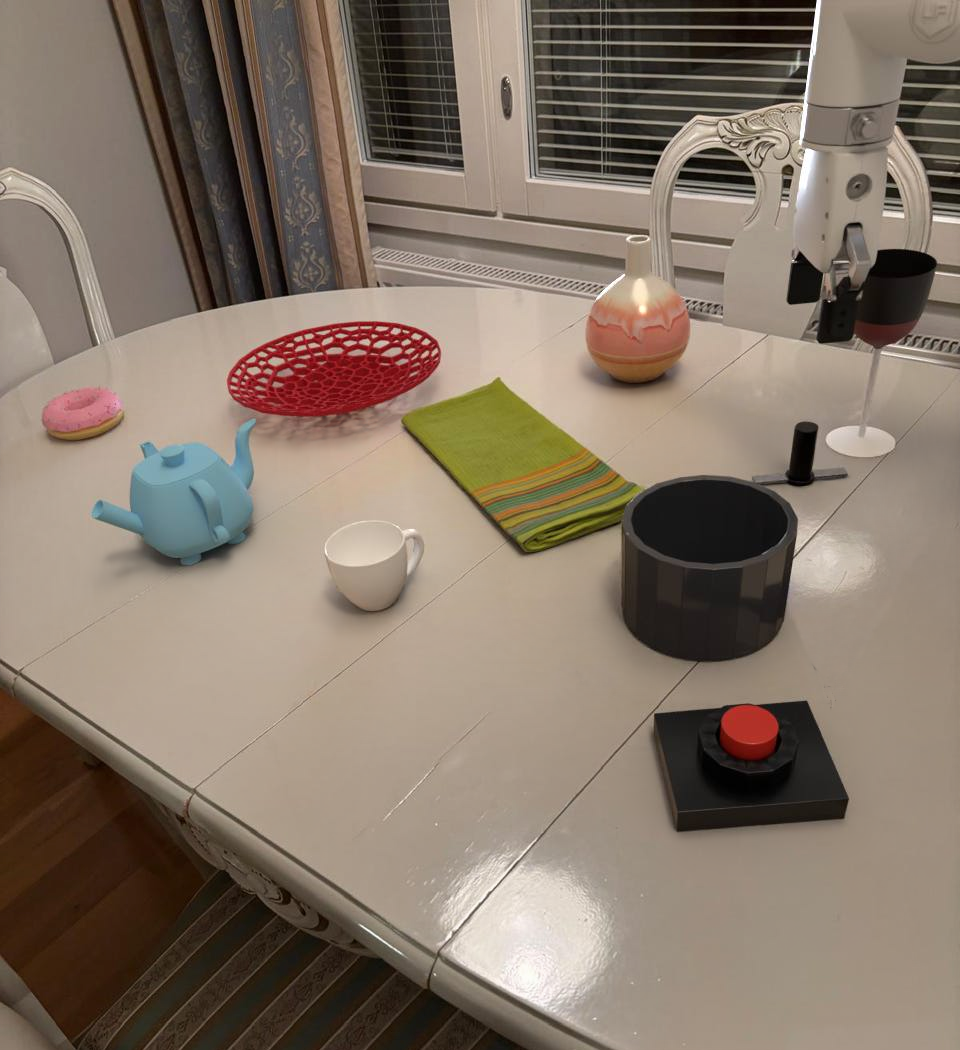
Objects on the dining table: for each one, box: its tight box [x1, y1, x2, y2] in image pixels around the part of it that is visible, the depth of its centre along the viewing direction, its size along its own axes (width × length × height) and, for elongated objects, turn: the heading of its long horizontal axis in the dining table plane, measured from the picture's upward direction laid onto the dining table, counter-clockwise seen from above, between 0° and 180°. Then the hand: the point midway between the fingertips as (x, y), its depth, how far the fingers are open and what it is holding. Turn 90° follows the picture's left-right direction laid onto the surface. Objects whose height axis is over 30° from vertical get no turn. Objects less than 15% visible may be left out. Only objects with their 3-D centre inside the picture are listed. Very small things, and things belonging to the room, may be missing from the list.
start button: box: [720, 705, 779, 760], centre depth 67 cm, size 4×4×2 cm
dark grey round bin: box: [620, 474, 799, 663], centre depth 82 cm, size 15×15×10 cm
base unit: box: [652, 700, 850, 832], centre depth 68 cm, size 12×10×4 cm
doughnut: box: [40, 386, 124, 441], centre depth 127 cm, size 11×11×4 cm
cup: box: [323, 519, 425, 612], centre depth 89 cm, size 8×10×7 cm
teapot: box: [91, 418, 257, 566], centre depth 99 cm, size 15×14×11 cm
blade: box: [751, 420, 849, 488], centre depth 98 cm, size 10×3×6 cm, turn 91°
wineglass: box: [825, 248, 938, 458], centre depth 99 cm, size 8×9×20 cm
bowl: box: [226, 320, 442, 418], centre depth 126 cm, size 29×30×5 cm
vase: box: [584, 234, 691, 384], centre depth 119 cm, size 14×14×18 cm
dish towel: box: [400, 376, 646, 553], centre depth 107 cm, size 15×36×3 cm, turn 25°
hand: (817, 321), depth 89 cm, fingers open, 9 cm apart
